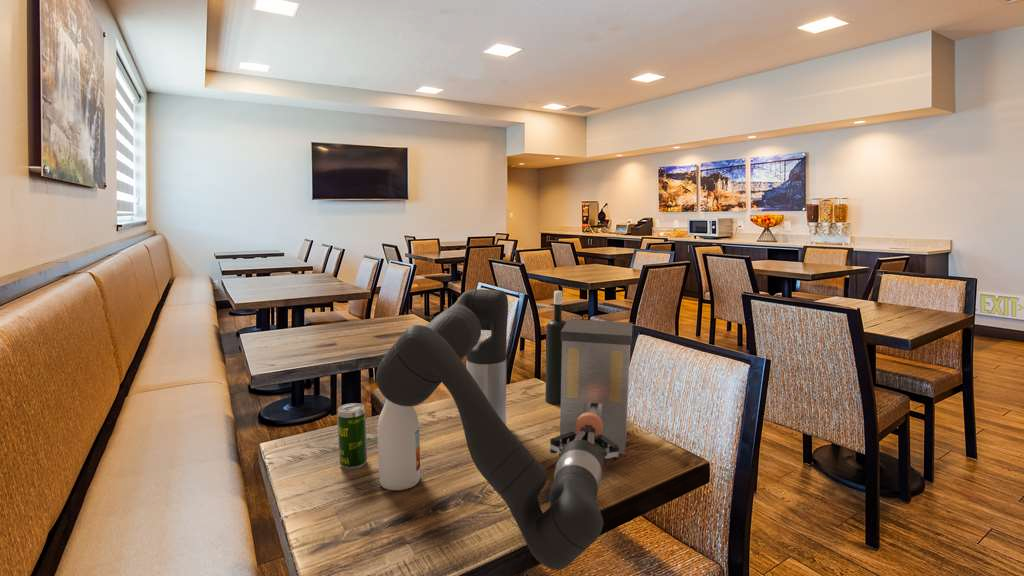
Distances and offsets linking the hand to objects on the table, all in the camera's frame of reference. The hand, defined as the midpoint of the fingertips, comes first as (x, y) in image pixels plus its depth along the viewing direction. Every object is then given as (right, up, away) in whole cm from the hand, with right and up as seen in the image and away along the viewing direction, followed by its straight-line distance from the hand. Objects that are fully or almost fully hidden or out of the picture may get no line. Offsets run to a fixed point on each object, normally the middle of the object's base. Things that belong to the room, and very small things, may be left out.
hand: (588, 429), depth 106 cm
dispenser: (+4, -6, +17) cm, 18 cm away
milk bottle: (-36, -9, -2) cm, 38 cm away
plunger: (+2, -1, +7) cm, 8 cm away
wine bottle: (-3, -3, +40) cm, 40 cm away
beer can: (-47, -8, +4) cm, 48 cm away
